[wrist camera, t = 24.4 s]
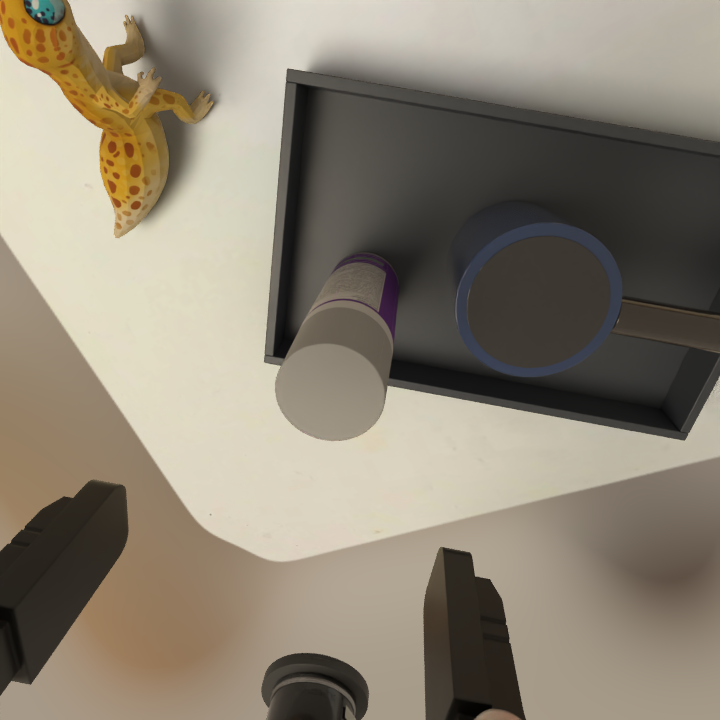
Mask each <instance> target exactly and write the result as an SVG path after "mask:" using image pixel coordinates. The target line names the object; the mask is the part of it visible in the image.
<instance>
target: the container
mask: <svg viewBox="0 0 720 720" xmlns="http://www.w3.org/2000/svg"><path fill="white" fill-rule="evenodd" d="M398 295H399V282H398V277H397V274H396V272H395V270H394V269H393V267H392V266H391V265H390V264H389V262H387V261H386V260H385V259H384V258H382V257H380V256H378V255H376V254H373V253H367V252H360V253H355V254H352V255H349V256H347V257H345V258H344V259H343V260H341V261H340V262H339V263H338V264H337V266H336V267H335V269H334V270H333V272H332V273H331V275H330V277H329V279H328V280H327V282H326V284H325V285H324V287H323V289H322V290H321V292H320V294H319V296H318V297H317V299H316V301H315V302H314V304H313V306H312V308H311V309H310V311H309V313H308V314H307V316H306V318H305V319H304V321H303V323H302V325H301V327H300V329H299V331H298V333H297V335H296V337H295V339H294V341H293V343H292V345H291V347H290V349H289V351H288V353H287V355H286V357H285V359H284V361H283V363H282V365H281V367H280V369H279V372H278V374H277V377H276V383H275V393H276V398H277V402H278V405H279V407H280V409H281V411H282V413H283V414H284V416H285V417H286V418H287V420H288V421H289V422H290V423H291V424H292V425H293V426H295V427H296V428H297V429H298V430H300V431H302V432H303V433H305V434H307V435H309V436H312V437H314V438H317V439H322V440H328V441H341V440H347V439H351V438H354V437H357V436H359V435H361V434H363V433H364V432H366V431H367V430H369V429H370V428H371V427H372V426H373V425H374V424H375V423H376V422H377V420H378V419H379V417H380V415H381V413H382V411H383V408H384V404H385V398H386V392H387V385H388V379H389V373H390V367H391V361H392V355H393V348H394V338H395V327H396V316H397V306H398Z"/></svg>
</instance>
